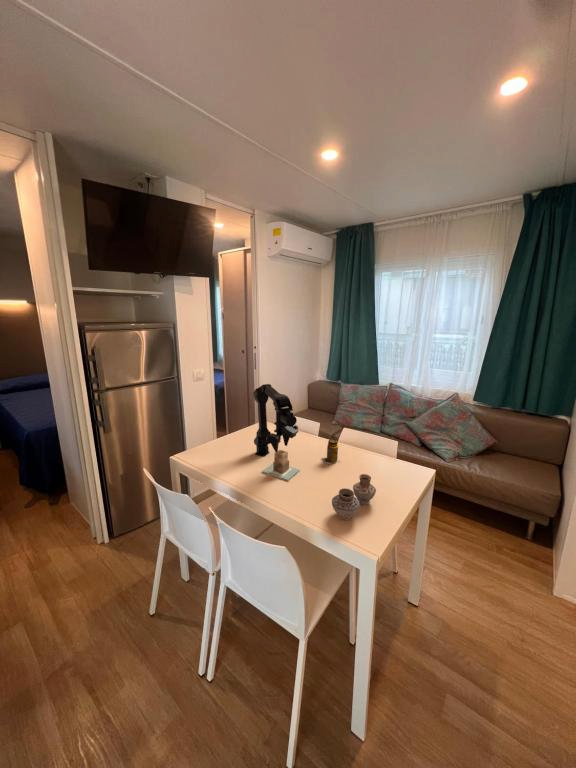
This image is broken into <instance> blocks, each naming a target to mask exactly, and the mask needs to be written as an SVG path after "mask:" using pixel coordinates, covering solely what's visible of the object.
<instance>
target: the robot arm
mask: <svg viewBox="0 0 576 768" xmlns="http://www.w3.org/2000/svg"><path fill="white" fill-rule="evenodd" d="M253 397H254V398H253V399H254V401H255V402H256V404H257V418H258V430H256V436H255V438H254V439H253V443H254V445H255V446H256V451H255V452H254V455H257V456H260V457H266V456H267V455H268V454H270V450H269V445H271V447H272V448H273V450H274V453H275V452H278V450H279V444H280V443H281V440H282V439H283V444H284V446H285V447H288V445H289V440H290V439H293V438H294V437H296V436H297V434H298V433H299V426H298V425H297V422H298V421H297V417H296V416H295V415H294V413H293V410H294V409H293V404H292V403H291V399H290V397H289V396H288V395H286V394H283V393H280V392H278V391H277V389H275V388H274V387H273V386H272V385H271V384H270V383H266V384H262V385H261V386H259V387H257V388H255V389H254V390H253ZM269 398H270V399H271V400H272V401H273V402H272V405H273V406H274V411H275V422H273V425H275V429H274V430H273V432H274V433H272V432H271V431H270V430H269V429H268V421H267V420H268V418H267V417H268V416H267V402H268V401H269ZM281 437H282V438H281Z"/></svg>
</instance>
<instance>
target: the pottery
mask: <svg viewBox="0 0 576 768" xmlns="http://www.w3.org/2000/svg"><path fill="white" fill-rule="evenodd" d="M358 478H359V481H358V482H355V483H354V484H353V486H352V489H353V490H352V489H350V488H341V489H339V491H338V494H337V495H334V496H333V497H332V499H331V505H332V508H333V510H334V512H335V513H336V514H337V517H338V518H339V519H341V520H343V521H348V520H351V519H352V517H354V516H355V515H356V513H358V511H359V509H360V507H361V505H369V504H370V503H371V500H372V499H374V497H375V495H376V492H377V489H376V487H375V486H374V484H371V480H372V476H371V475H369V474H367V473H362V474H359V477H358Z"/></svg>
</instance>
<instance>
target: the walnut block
mask: <svg viewBox="0 0 576 768" xmlns="http://www.w3.org/2000/svg"><path fill="white" fill-rule="evenodd" d="M272 464H273V471H275V472H278V473H281V474H284V473H285V472H286V471H287V470H289V466H290V460H289V459H288V461H287V462H285V463H284V464H283V465H282V464H279V463H276V462H274V461H273V462H272Z"/></svg>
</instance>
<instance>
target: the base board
mask: <svg viewBox="0 0 576 768" xmlns="http://www.w3.org/2000/svg"><path fill="white" fill-rule="evenodd" d="M299 472H301V469H299V468H296V467H292V466H290V465H289V470H287V471H286V472H285V473H284V474H281V473H278V472H275V471H273V463H271V464H269V466H267V467H266V468H264V469H262V471H261V473H263V474H265V475H269V476H272V477H275V478H277V479H280V480H283V481H286V482H290V480H291V479H292V478H294V477H295V476H297V474H298V473H299Z"/></svg>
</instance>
